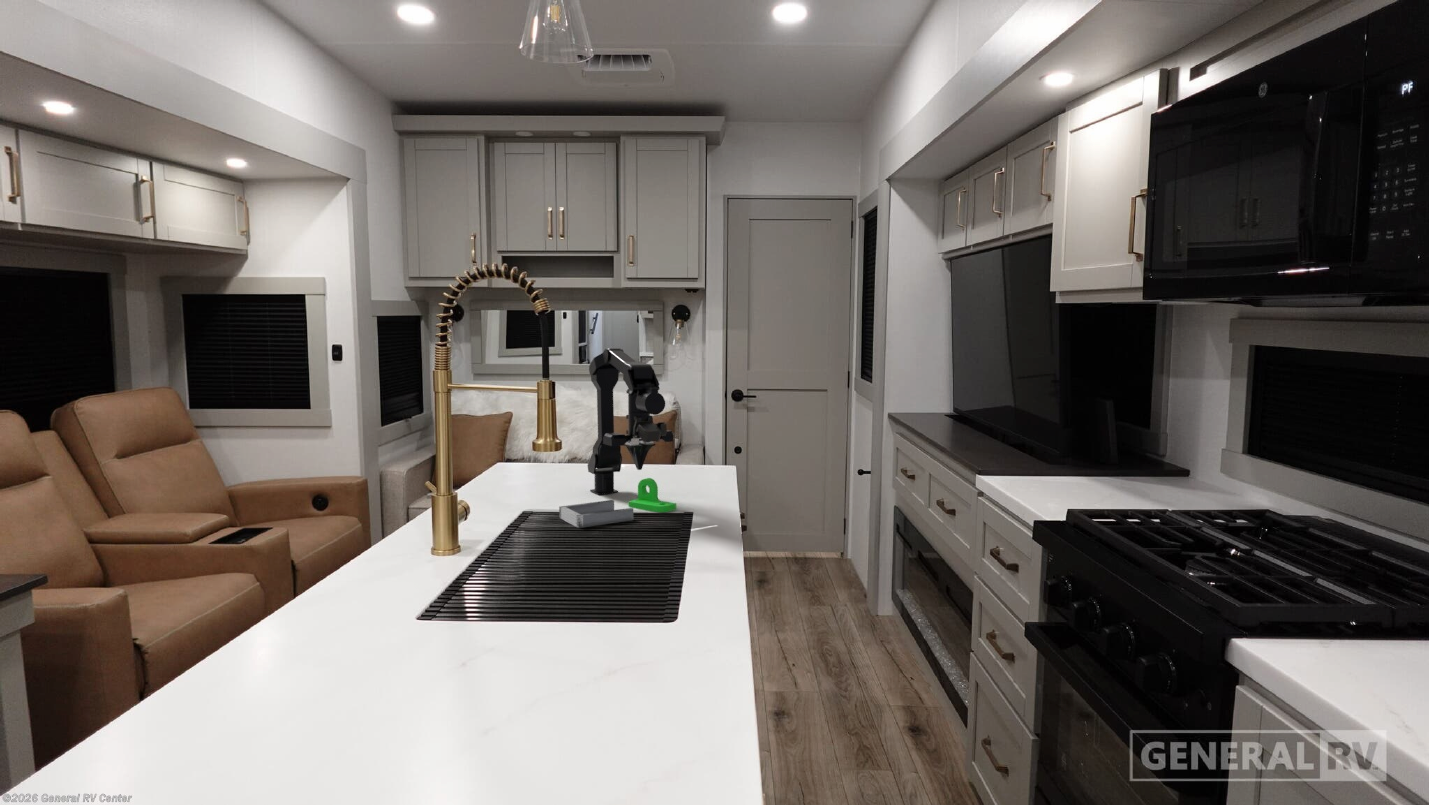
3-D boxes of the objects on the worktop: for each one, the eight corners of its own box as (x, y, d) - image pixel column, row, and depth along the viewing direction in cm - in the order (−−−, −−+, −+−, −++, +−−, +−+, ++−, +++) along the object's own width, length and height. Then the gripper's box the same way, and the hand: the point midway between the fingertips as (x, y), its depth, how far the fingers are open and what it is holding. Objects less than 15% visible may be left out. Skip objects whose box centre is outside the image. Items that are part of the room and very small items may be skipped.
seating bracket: (559, 517, 194) (559, 506, 194) (612, 510, 203) (612, 500, 203) (578, 528, 184) (578, 516, 184) (633, 520, 193) (633, 508, 192)
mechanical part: (628, 508, 207) (628, 480, 206) (642, 504, 212) (642, 477, 211) (662, 514, 200) (662, 485, 199) (676, 510, 205) (676, 481, 204)
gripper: (621, 415, 186) (621, 477, 188) (684, 412, 197) (684, 470, 198) (602, 412, 196) (602, 471, 197) (663, 409, 206) (663, 465, 207)
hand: (639, 469), depth 199 cm, fingers closed
